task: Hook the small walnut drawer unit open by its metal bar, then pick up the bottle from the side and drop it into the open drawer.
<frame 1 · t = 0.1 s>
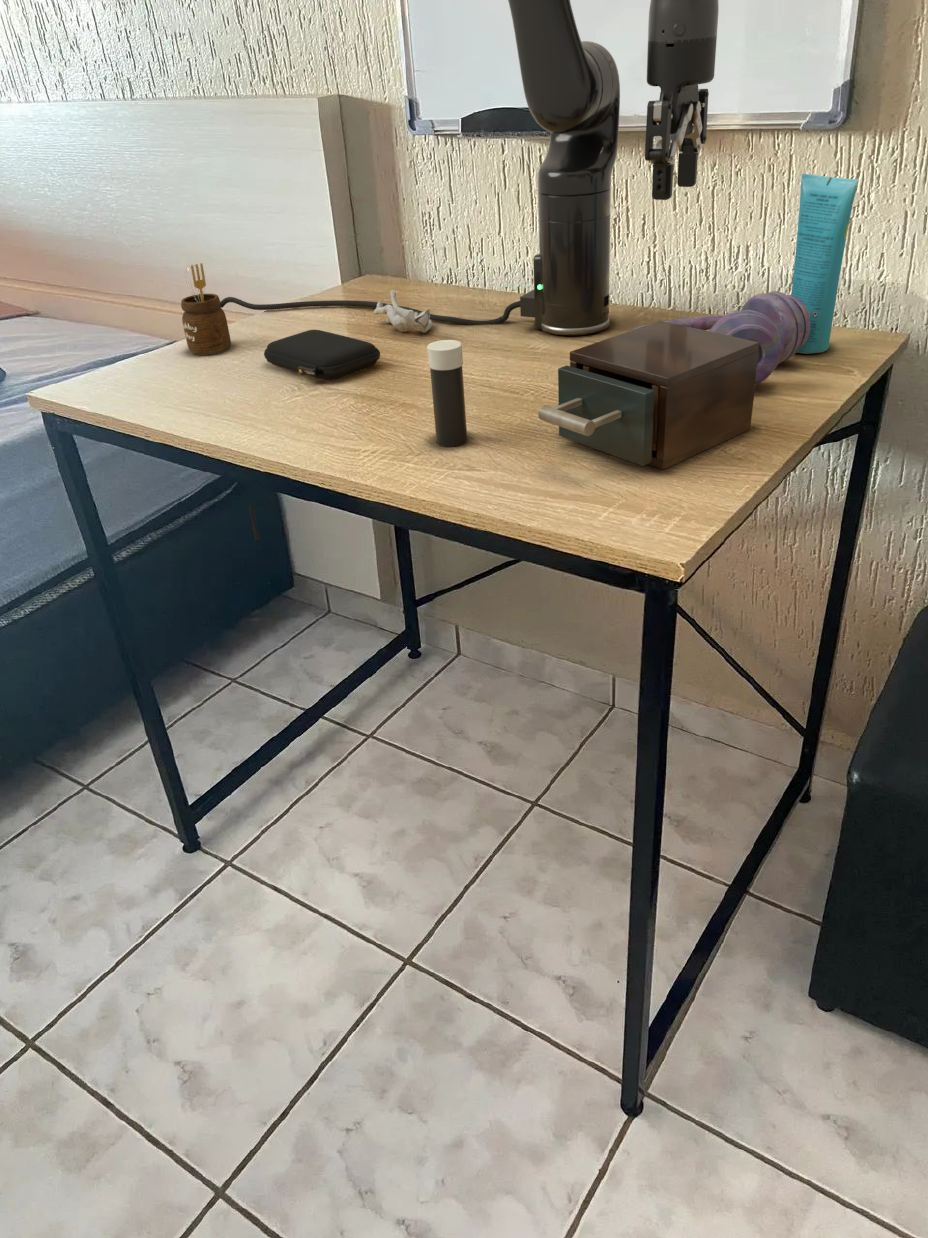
hand: (674, 192, 114), 17 cm above the table, tool pointing down, fingers open, 8 cm apart
headphones: (705, 369, 111), on the table
carrying case: (320, 368, 122), on the table
utensil holder: (211, 350, 131), on the table
tube: (806, 349, 115), on the table
cabinet: (659, 432, 96), on the table
grey animal figurine: (405, 332, 133), on the table
bottle: (451, 440, 98), on the table
drawer: (624, 405, 91), point 4 cm above the table, slide at 1.0 cm
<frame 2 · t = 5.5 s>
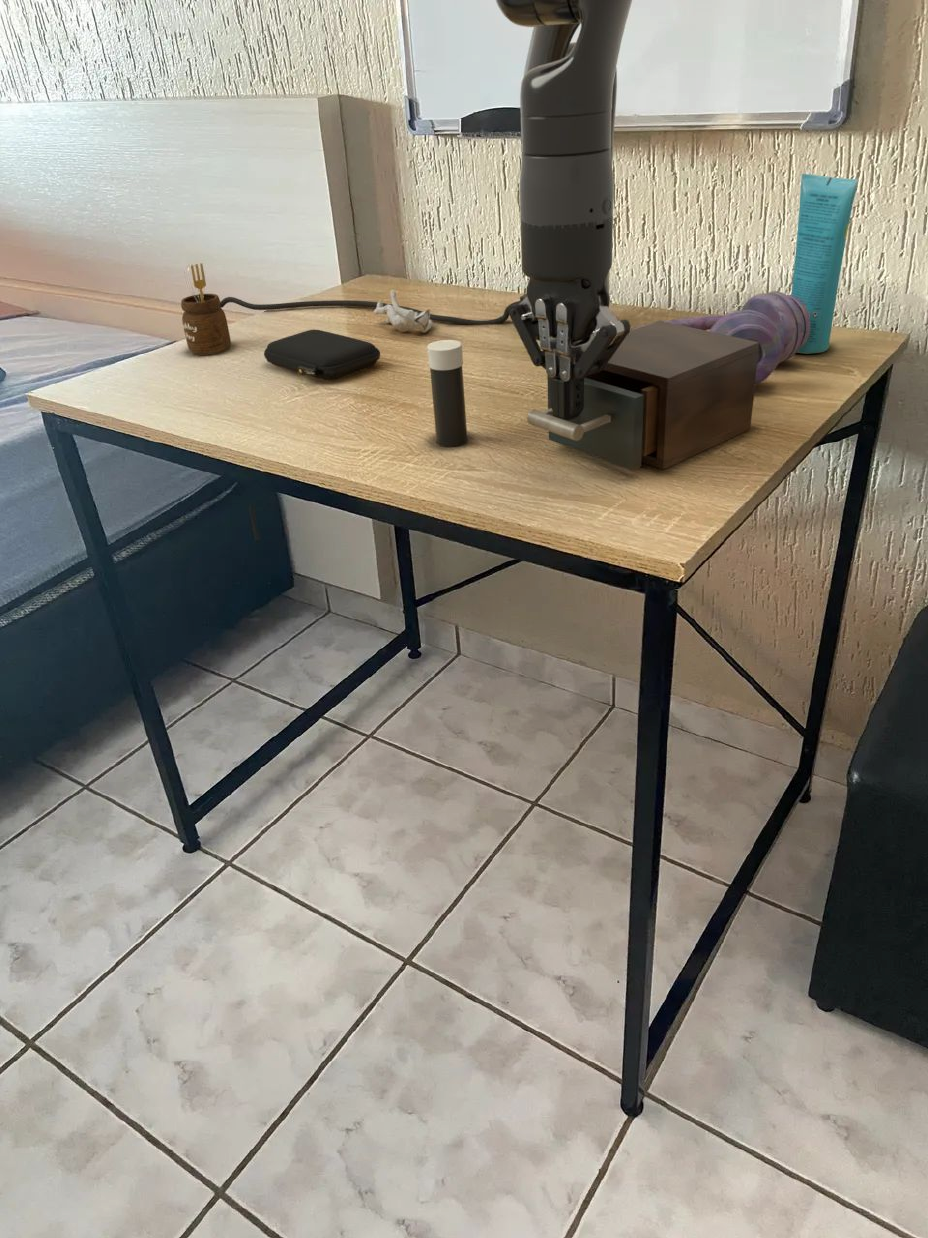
hand: (567, 416, 86), 6 cm above the table, tool pointing down, fingers closed
drawer: (614, 409, 90), point 4 cm above the table, slide at 2.4 cm, touching gripper
everything else where it was.
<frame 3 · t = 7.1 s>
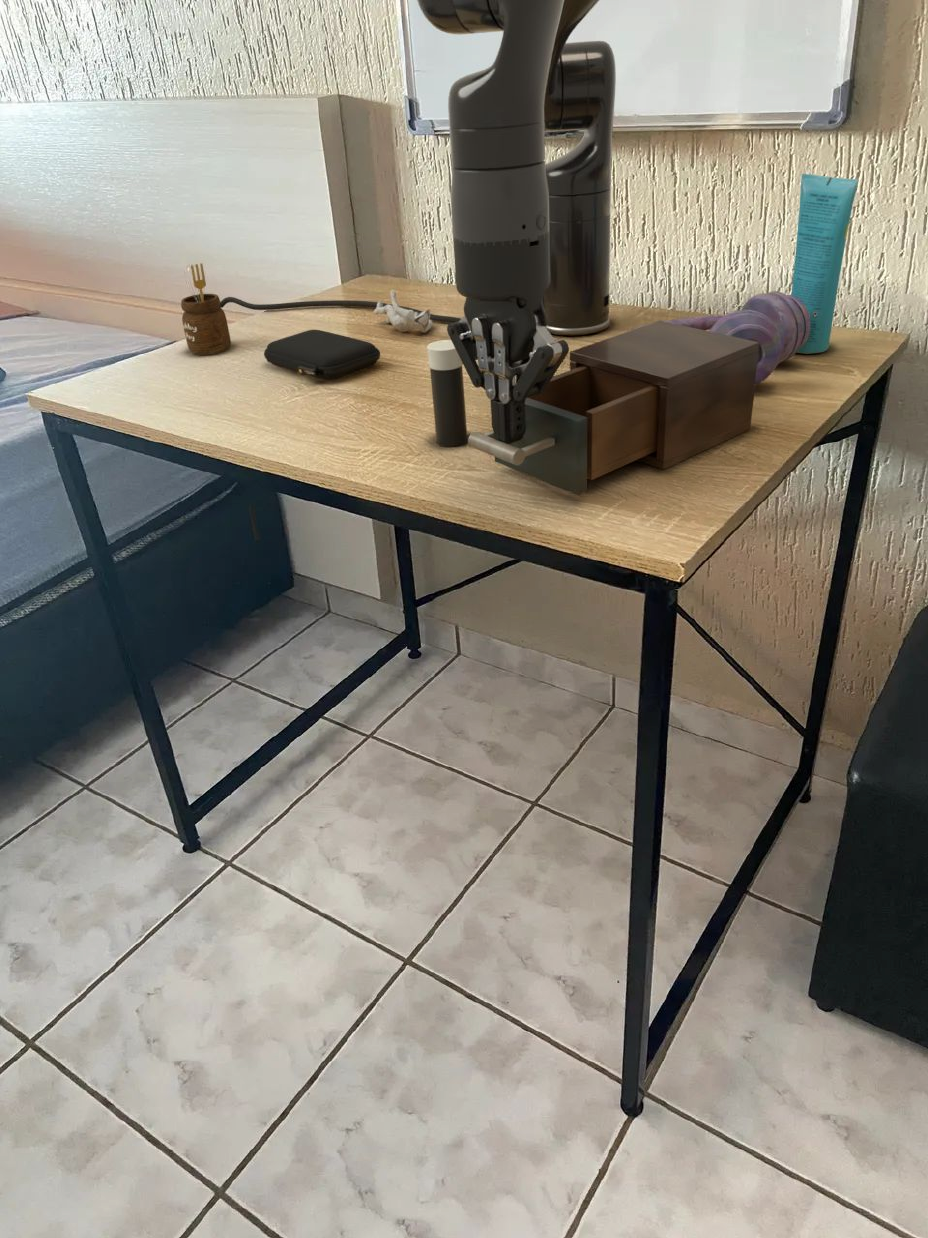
hand: (509, 439, 82), 6 cm above the table, tool pointing down, fingers closed
drawer: (561, 431, 86), point 4 cm above the table, slide at 9.5 cm, touching gripper
everything else where it was.
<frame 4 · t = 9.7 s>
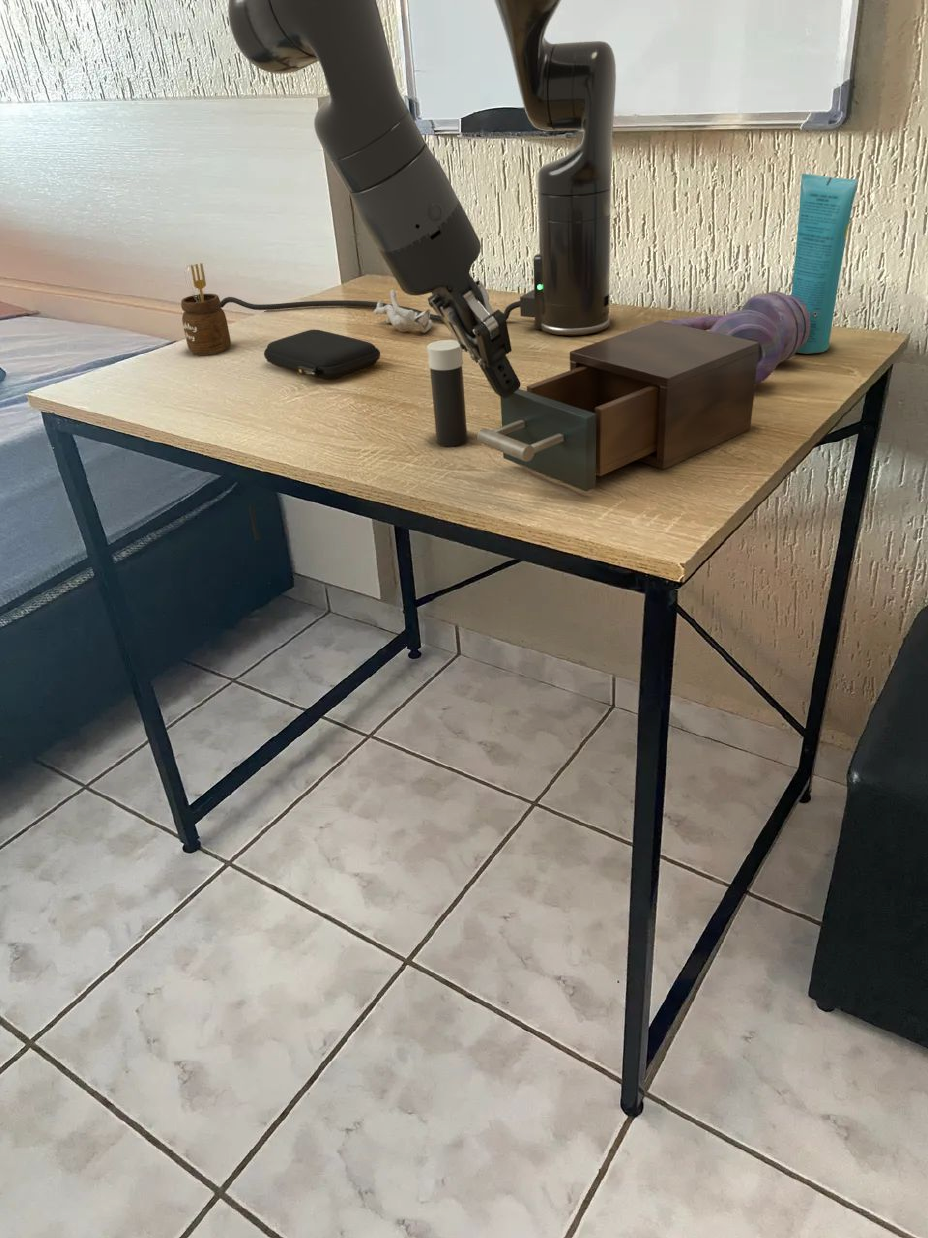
hand: (509, 390, 86), 8 cm above the table, tool tilted 25°, fingers closed
drawer: (569, 428, 87), point 4 cm above the table, slide at 8.5 cm, touching gripper
everything else where it was.
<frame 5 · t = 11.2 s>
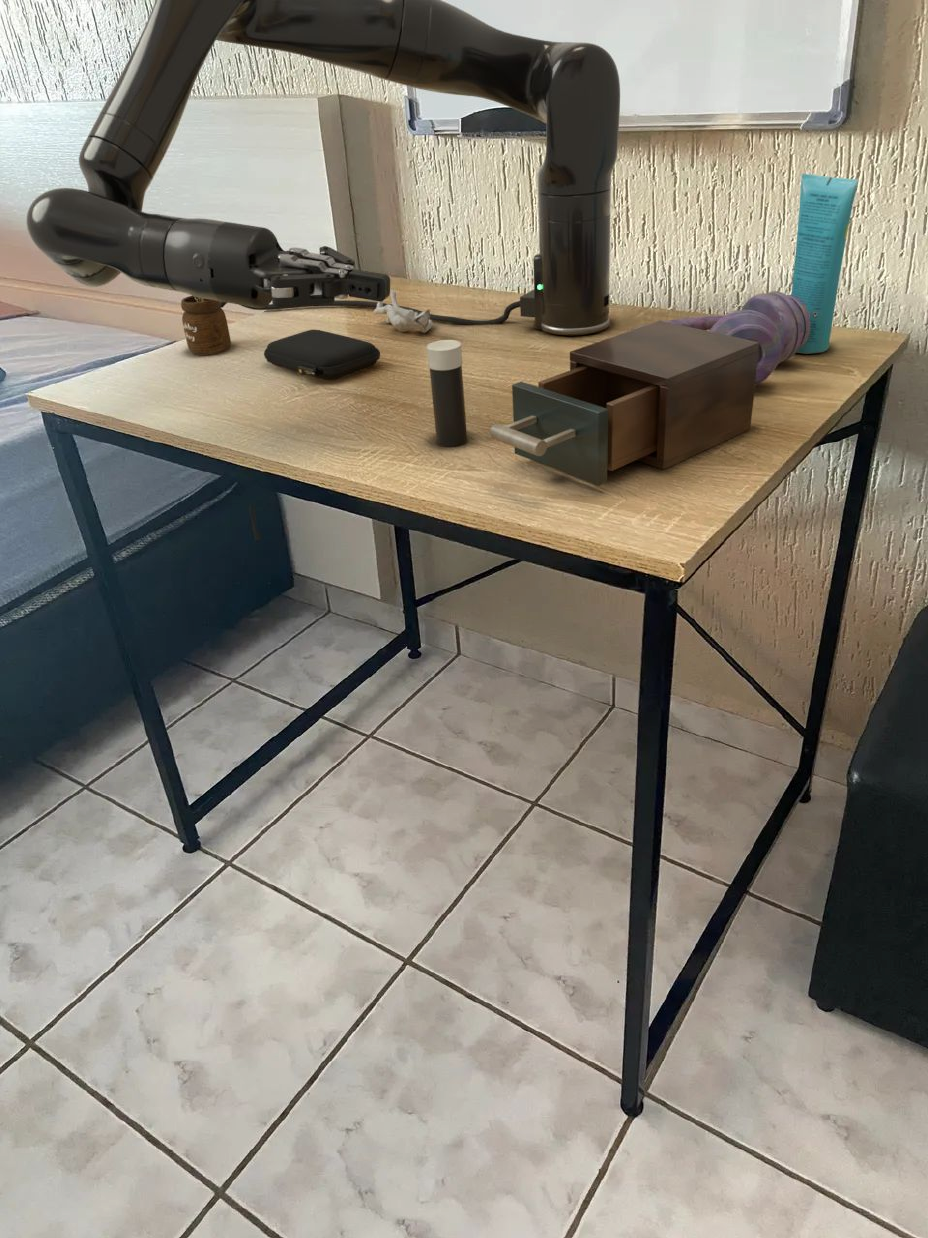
hand: (387, 288, 90), 15 cm above the table, tool horizontal, fingers closed
drawer: (581, 423, 88), point 4 cm above the table, slide at 7.0 cm
everything else where it was.
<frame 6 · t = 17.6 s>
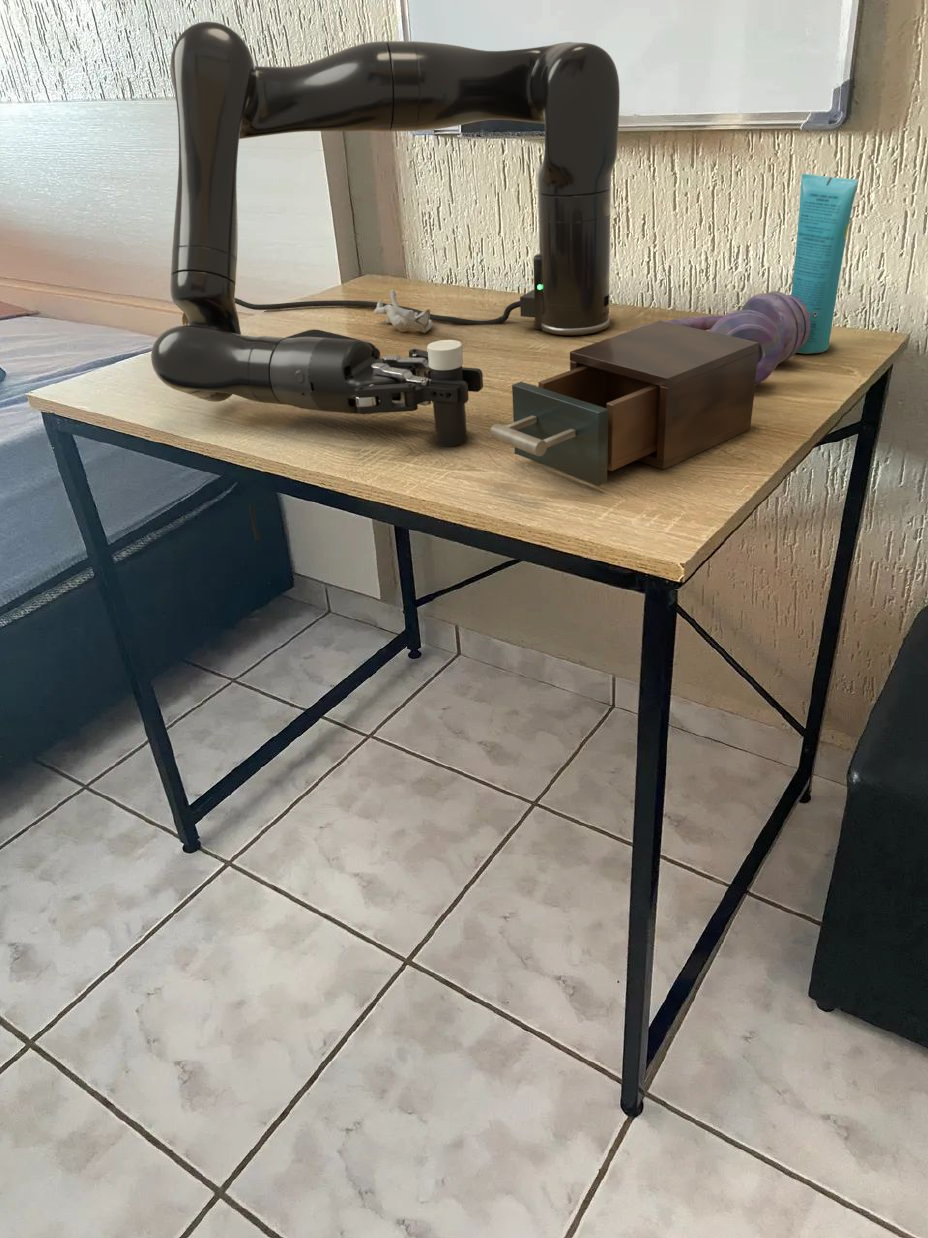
hand: (473, 386, 93), 6 cm above the table, tool horizontal, fingers closed on bottle, 3 cm apart
bottle: (451, 440, 98), on the table, touching gripper
everything else where it was.
when the fingers open (12 cm above the table, at t = 23.3 s): bottle drops 4 cm, resting on drawer.
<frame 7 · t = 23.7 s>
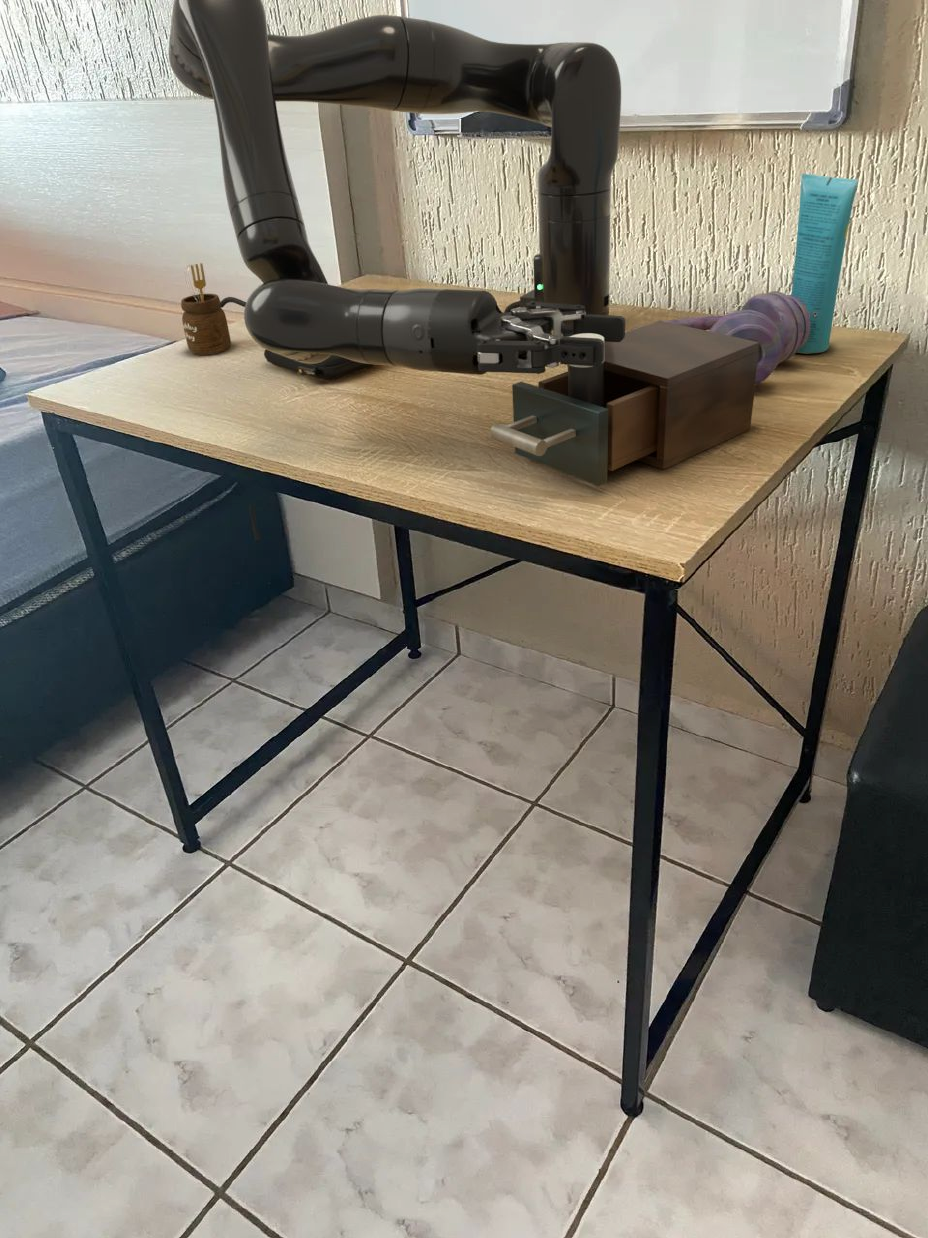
hand: (613, 340, 83), 12 cm above the table, tool horizontal, fingers open, 6 cm apart
bottle: (586, 443, 89), point 2 cm above the table, touching drawer
drawer: (581, 423, 88), point 4 cm above the table, slide at 7.0 cm, touching bottle
everything else where it was.
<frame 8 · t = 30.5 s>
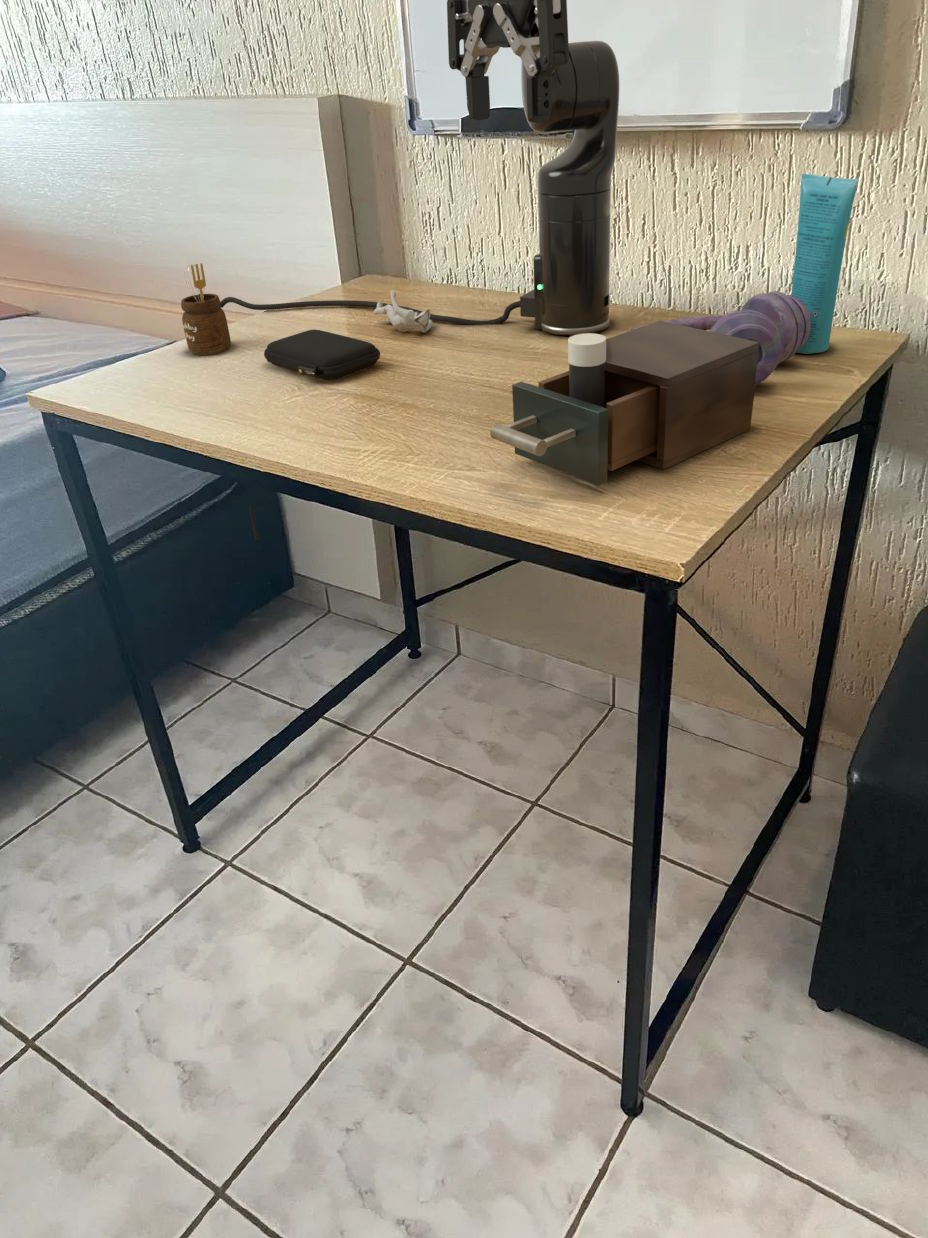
hand: (508, 120, 91), 28 cm above the table, tool pointing down, fingers open, 8 cm apart
nothing on the table moved.
at the end: drawer slide at 7.0 cm; bottle inside the target area in the drawer (0.4 cm from its centre), point 2.1 cm above the cabinet's base; bottle touching drawer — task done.
